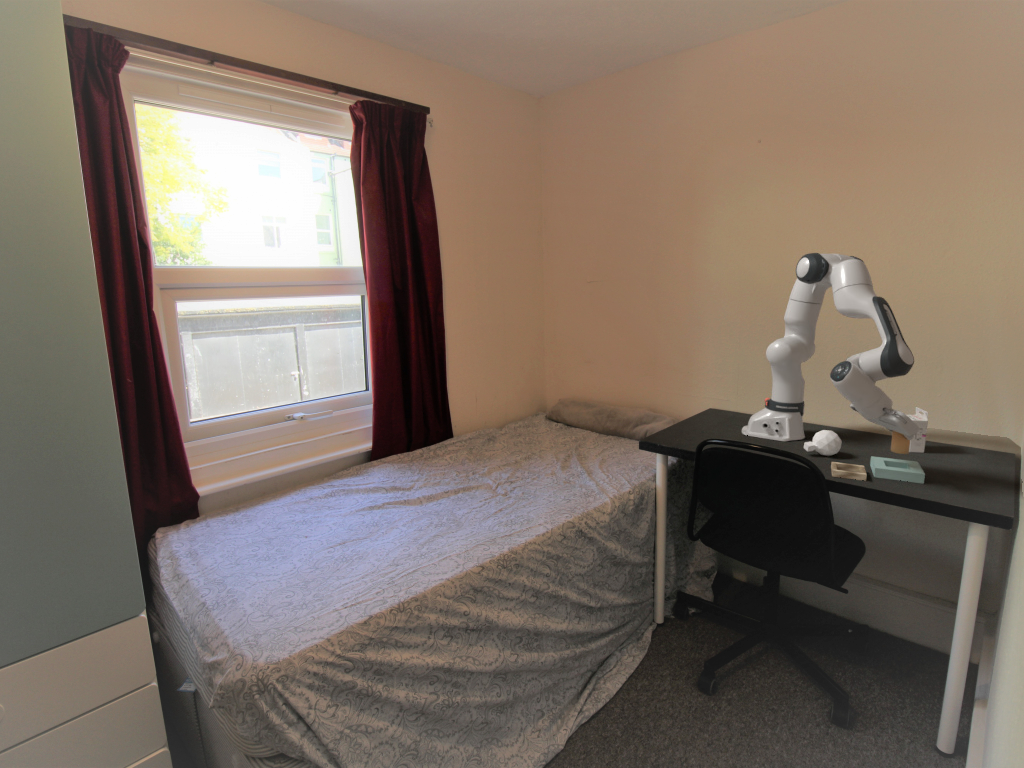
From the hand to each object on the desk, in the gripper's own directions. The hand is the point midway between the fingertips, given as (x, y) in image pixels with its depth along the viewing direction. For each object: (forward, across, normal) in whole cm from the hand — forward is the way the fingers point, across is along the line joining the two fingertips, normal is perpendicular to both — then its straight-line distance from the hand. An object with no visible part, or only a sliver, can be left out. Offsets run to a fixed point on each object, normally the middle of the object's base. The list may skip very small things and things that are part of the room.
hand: (903, 435), depth 160 cm
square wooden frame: (-2, 0, +20) cm, 20 cm away
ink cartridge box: (+24, +25, -6) cm, 35 cm away
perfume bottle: (-1, +20, +18) cm, 27 cm away
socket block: (+8, 0, +10) cm, 13 cm away
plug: (+3, 0, +4) cm, 5 cm away
